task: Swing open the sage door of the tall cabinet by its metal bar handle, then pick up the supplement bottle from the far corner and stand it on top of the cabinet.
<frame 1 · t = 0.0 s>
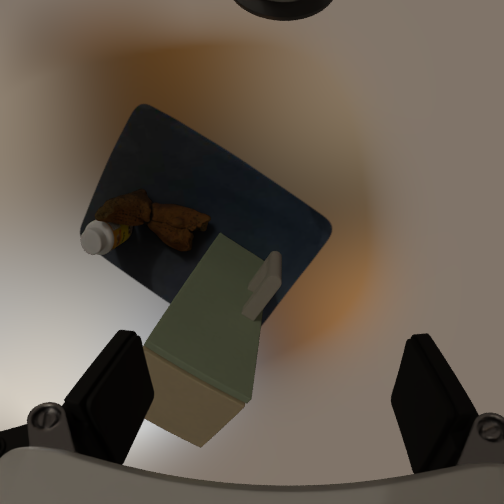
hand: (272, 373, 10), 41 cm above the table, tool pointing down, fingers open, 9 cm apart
cabinet door: (241, 271, 37), point 16 cm above the table, hinge at 0.0°
sculpture: (165, 210, 52), on the table
supplement bottle: (120, 225, 54), on the table
cabinet: (228, 271, 54), on the table
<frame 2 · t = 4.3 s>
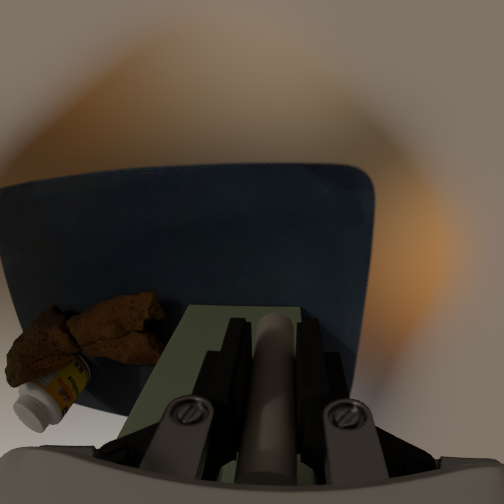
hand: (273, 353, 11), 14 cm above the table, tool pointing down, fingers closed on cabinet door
cabinet door: (197, 427, 11), point 16 cm above the table, hinge at 0.1°, touching gripper
sculpture: (101, 315, 29), on the table
supplement bottle: (74, 362, 32), on the table
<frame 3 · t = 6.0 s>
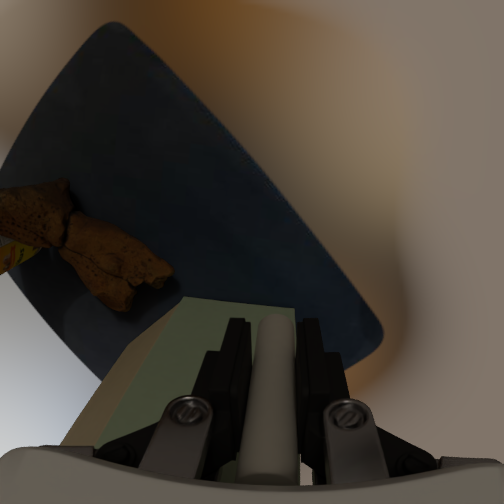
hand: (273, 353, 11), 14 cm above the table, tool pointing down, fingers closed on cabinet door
cabinet door: (191, 422, 11), point 16 cm above the table, hinge at 45.1°, touching gripper
sculpture: (99, 228, 26), on the table
supplement bottle: (29, 228, 27), on the table
cabinet: (186, 358, 29), on the table
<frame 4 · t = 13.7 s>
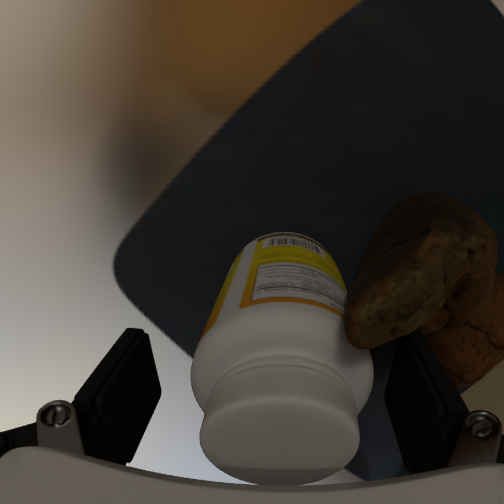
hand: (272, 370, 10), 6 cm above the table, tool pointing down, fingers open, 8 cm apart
sculpture: (450, 275, 15), on the table, touching gripper, supplement bottle
supplement bottle: (284, 280, 16), on the table, touching sculpture
cabinet: (483, 412, 18), on the table
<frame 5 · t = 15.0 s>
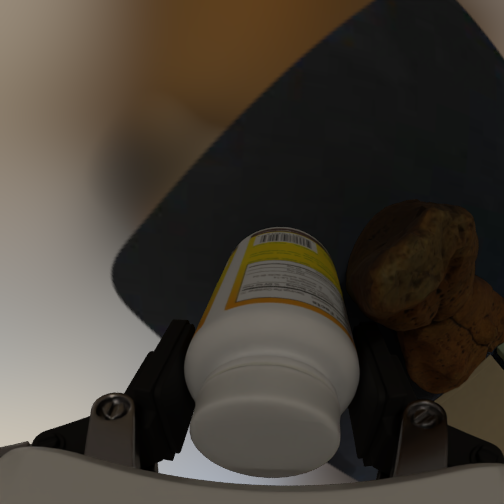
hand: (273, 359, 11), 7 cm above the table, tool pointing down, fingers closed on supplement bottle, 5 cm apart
sculpture: (426, 283, 17), on the table
supplement bottle: (281, 273, 17), point 1 cm above the table, touching gripper
cabinet: (467, 411, 20), on the table
when the fingers open (38 cm above the table, at t = 20.5 s): supplement bottle stays where it is, resting on cabinet.
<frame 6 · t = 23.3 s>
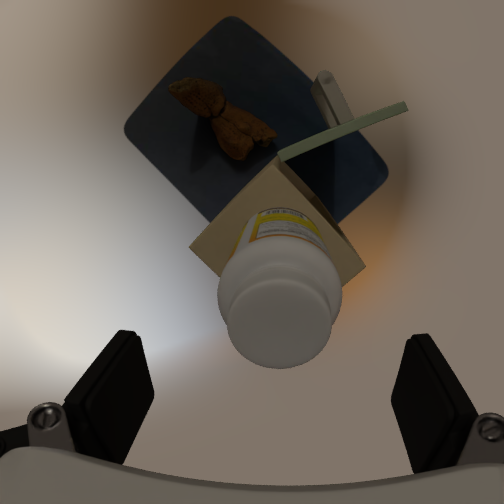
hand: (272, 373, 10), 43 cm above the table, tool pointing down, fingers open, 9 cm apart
cabinet door: (307, 113, 33), point 16 cm above the table, hinge at 71.1°
sculpture: (231, 116, 48), on the table
supplement bottle: (280, 245, 22), point 31 cm above the table, touching cabinet
cabinet: (280, 193, 51), on the table
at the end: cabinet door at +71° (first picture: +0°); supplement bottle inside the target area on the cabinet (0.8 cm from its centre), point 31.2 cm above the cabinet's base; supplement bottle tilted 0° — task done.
